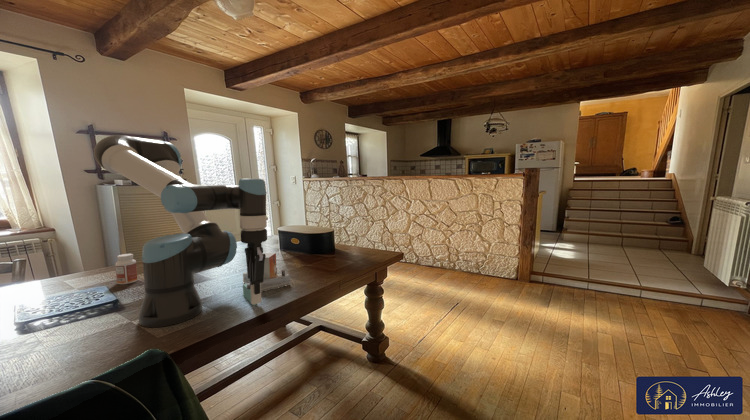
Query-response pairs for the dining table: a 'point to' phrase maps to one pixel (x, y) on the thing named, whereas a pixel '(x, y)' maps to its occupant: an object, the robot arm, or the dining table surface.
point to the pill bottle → (126, 269)
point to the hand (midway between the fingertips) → (256, 302)
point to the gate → (247, 292)
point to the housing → (270, 281)
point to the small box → (270, 265)
